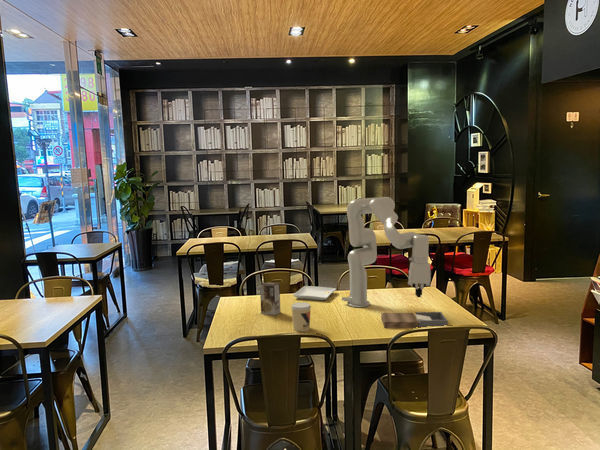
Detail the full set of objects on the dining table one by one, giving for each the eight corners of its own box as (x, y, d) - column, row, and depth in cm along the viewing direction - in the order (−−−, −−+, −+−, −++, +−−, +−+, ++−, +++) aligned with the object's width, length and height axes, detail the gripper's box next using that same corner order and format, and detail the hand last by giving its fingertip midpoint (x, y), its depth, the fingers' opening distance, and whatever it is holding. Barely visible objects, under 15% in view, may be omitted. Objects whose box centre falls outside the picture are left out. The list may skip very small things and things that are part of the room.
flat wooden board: (384, 328, 230) (384, 322, 229) (381, 318, 244) (381, 312, 243) (418, 327, 229) (418, 321, 229) (412, 318, 243) (413, 312, 242)
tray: (418, 327, 229) (418, 320, 229) (413, 318, 243) (413, 312, 242) (447, 327, 228) (447, 320, 228) (440, 318, 242) (441, 311, 241)
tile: (417, 322, 231) (418, 318, 231) (414, 318, 238) (415, 314, 238) (431, 325, 231) (432, 321, 231) (428, 320, 238) (429, 316, 238)
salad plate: (326, 302, 275) (326, 297, 275) (292, 300, 282) (292, 294, 282) (336, 293, 295) (336, 287, 294) (304, 290, 302) (304, 285, 302)
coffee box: (281, 312, 258) (280, 283, 256) (275, 315, 252) (274, 285, 250) (266, 310, 262) (265, 281, 260) (260, 313, 256) (259, 284, 254)
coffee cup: (304, 333, 225) (304, 308, 223) (288, 330, 230) (287, 306, 228) (314, 327, 233) (314, 303, 231) (298, 324, 238) (298, 301, 236)
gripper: (405, 261, 229) (404, 298, 231) (437, 262, 228) (435, 299, 231) (403, 258, 236) (402, 294, 239) (433, 258, 235) (432, 294, 238)
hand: (418, 296), depth 235 cm, fingers closed
